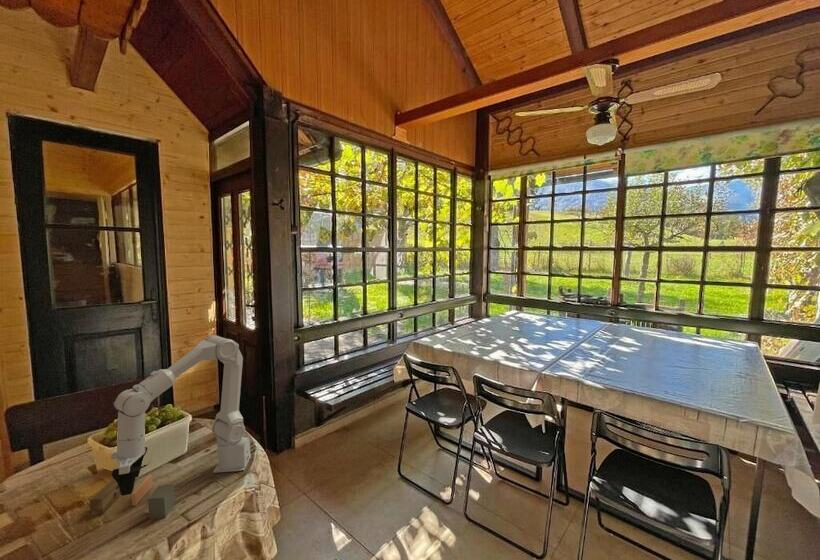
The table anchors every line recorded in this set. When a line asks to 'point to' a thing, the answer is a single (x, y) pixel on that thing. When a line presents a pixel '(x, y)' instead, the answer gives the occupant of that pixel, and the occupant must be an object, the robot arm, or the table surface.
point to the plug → (161, 502)
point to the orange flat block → (141, 490)
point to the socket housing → (105, 497)
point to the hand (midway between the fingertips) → (130, 485)
